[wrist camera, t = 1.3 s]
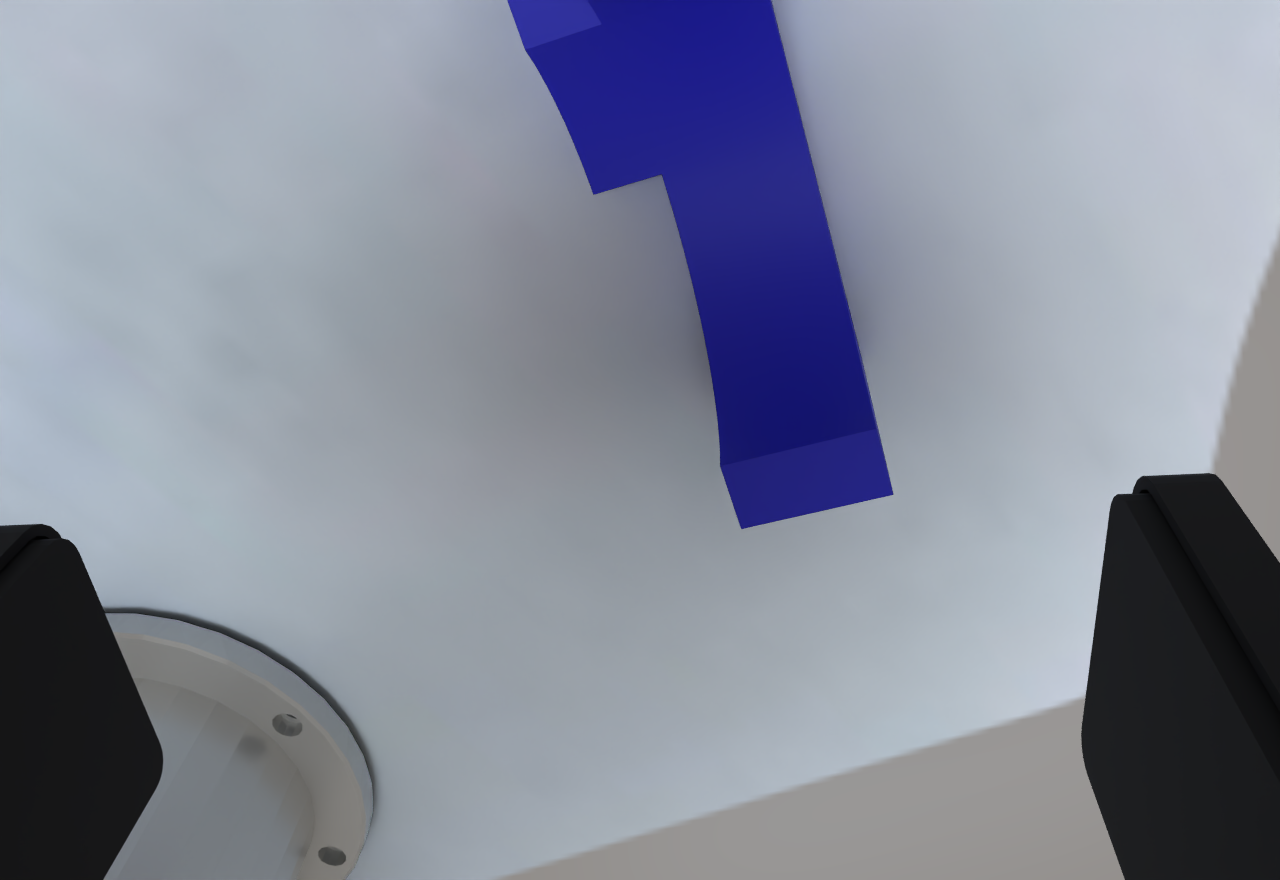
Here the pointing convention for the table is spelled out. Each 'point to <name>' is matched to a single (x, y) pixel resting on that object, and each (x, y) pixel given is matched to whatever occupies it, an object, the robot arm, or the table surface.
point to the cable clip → (728, 228)
